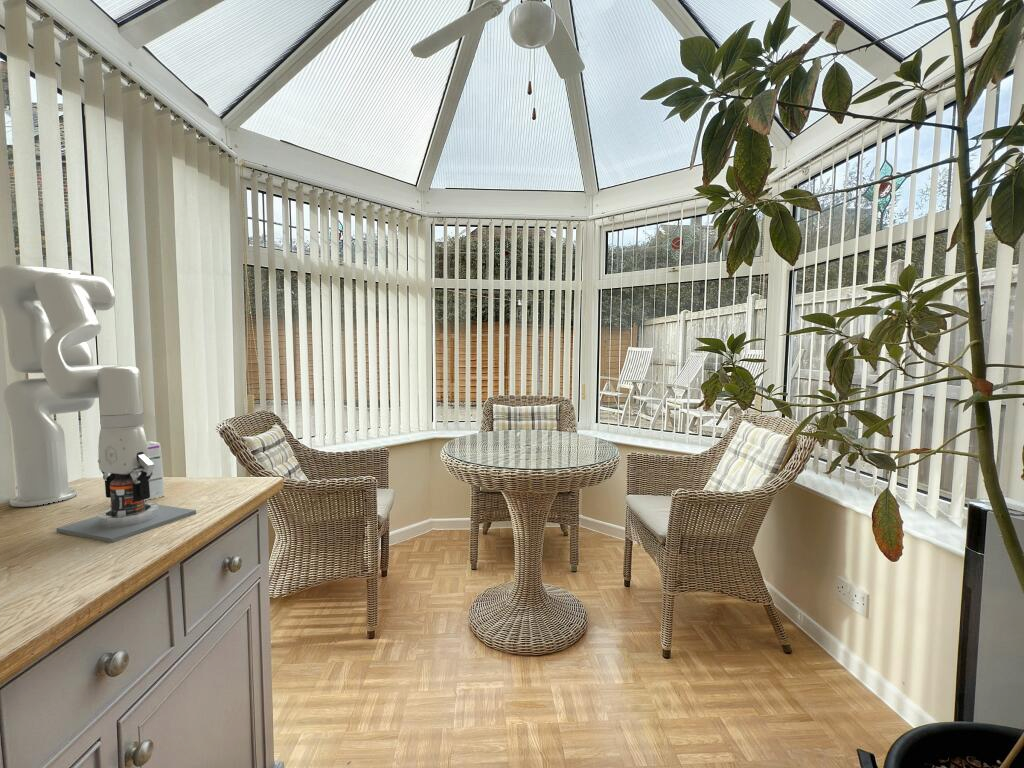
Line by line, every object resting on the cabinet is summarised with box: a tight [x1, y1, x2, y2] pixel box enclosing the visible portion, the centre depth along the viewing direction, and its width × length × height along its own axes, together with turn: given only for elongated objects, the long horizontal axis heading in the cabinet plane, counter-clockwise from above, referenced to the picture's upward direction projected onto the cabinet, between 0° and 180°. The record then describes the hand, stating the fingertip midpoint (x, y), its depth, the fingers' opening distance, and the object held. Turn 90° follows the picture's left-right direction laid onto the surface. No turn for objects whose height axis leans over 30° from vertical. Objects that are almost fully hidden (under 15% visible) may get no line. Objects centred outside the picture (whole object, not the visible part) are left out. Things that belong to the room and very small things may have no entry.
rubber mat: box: [55, 504, 197, 543], centre depth 110 cm, size 18×18×1 cm
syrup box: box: [137, 440, 165, 501], centre depth 128 cm, size 6×6×14 cm
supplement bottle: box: [110, 468, 146, 517], centre depth 110 cm, size 6×6×11 cm
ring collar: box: [98, 501, 158, 528], centre depth 110 cm, size 10×10×2 cm
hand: (128, 497), depth 110 cm, fingers open, 8 cm apart
